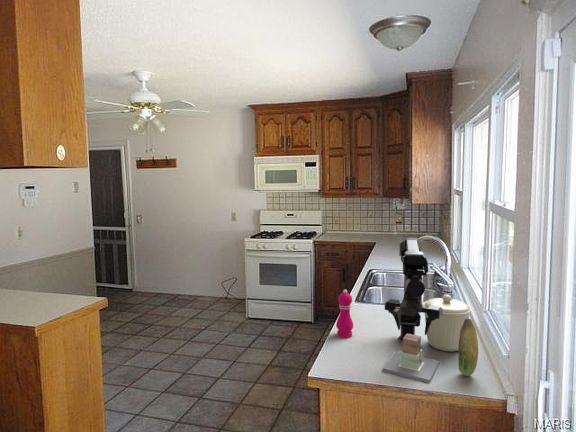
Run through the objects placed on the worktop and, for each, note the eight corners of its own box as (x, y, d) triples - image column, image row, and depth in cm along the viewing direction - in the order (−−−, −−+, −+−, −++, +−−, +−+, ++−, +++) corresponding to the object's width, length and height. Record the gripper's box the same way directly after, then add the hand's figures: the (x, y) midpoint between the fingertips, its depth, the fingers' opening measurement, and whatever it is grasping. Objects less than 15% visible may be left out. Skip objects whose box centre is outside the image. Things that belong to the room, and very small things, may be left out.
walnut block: (406, 346, 148) (406, 333, 147) (420, 349, 145) (421, 336, 145) (402, 351, 144) (403, 338, 143) (417, 355, 141) (417, 341, 140)
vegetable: (479, 375, 139) (482, 318, 137) (473, 383, 134) (476, 324, 132) (461, 370, 143) (463, 314, 141) (454, 376, 138) (457, 319, 136)
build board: (395, 353, 156) (395, 351, 156) (439, 363, 148) (439, 360, 148) (382, 371, 142) (382, 368, 142) (429, 382, 134) (429, 379, 134)
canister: (466, 339, 169) (468, 290, 167) (473, 358, 152) (476, 303, 149) (420, 335, 174) (421, 287, 172) (422, 353, 156) (424, 299, 154)
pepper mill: (340, 339, 170) (340, 292, 168) (333, 333, 177) (333, 288, 175) (356, 337, 172) (356, 291, 170) (349, 331, 179) (349, 286, 177)
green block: (405, 359, 149) (405, 346, 148) (422, 363, 146) (422, 349, 145) (400, 365, 144) (400, 352, 143) (417, 369, 141) (418, 356, 140)
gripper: (379, 290, 140) (379, 334, 142) (436, 298, 130) (435, 345, 132) (389, 283, 150) (388, 324, 151) (443, 290, 140) (441, 334, 142)
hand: (412, 332), depth 144 cm, fingers open, 9 cm apart
